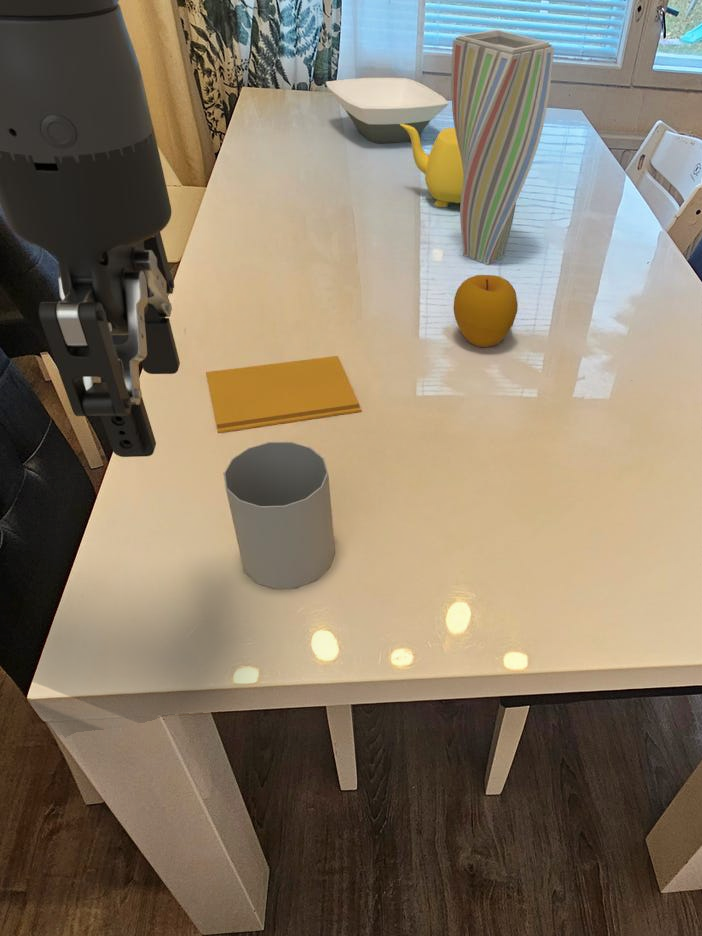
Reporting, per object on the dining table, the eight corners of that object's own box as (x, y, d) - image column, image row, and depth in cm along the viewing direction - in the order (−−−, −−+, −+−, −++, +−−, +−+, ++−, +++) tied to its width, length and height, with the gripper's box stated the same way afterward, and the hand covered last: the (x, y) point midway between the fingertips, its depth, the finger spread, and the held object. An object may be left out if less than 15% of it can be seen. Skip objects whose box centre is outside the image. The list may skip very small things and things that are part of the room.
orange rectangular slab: (218, 433, 77) (217, 430, 77) (206, 374, 85) (205, 371, 85) (361, 411, 82) (361, 409, 82) (337, 357, 90) (337, 355, 90)
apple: (484, 318, 101) (490, 258, 94) (526, 344, 96) (535, 283, 90) (439, 335, 96) (442, 273, 90) (480, 363, 92) (487, 300, 86)
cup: (223, 571, 63) (202, 489, 56) (271, 513, 69) (258, 432, 62) (307, 600, 62) (297, 519, 55) (350, 538, 67) (345, 457, 61)
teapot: (503, 219, 127) (511, 143, 118) (393, 206, 127) (393, 129, 118) (506, 192, 137) (514, 120, 128) (404, 180, 137) (405, 107, 128)
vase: (426, 254, 114) (433, 34, 93) (475, 231, 122) (492, 24, 102) (494, 282, 109) (518, 56, 88) (540, 256, 117) (572, 44, 97)
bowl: (409, 116, 167) (409, 75, 162) (454, 147, 154) (457, 104, 148) (320, 122, 158) (317, 79, 153) (360, 155, 145) (359, 110, 139)
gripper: (25, 77, 37) (112, 349, 48) (-94, 173, 27) (52, 488, 38) (175, 85, 38) (227, 348, 49) (116, 180, 28) (197, 483, 39)
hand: (150, 409), depth 44 cm, fingers open, 8 cm apart
